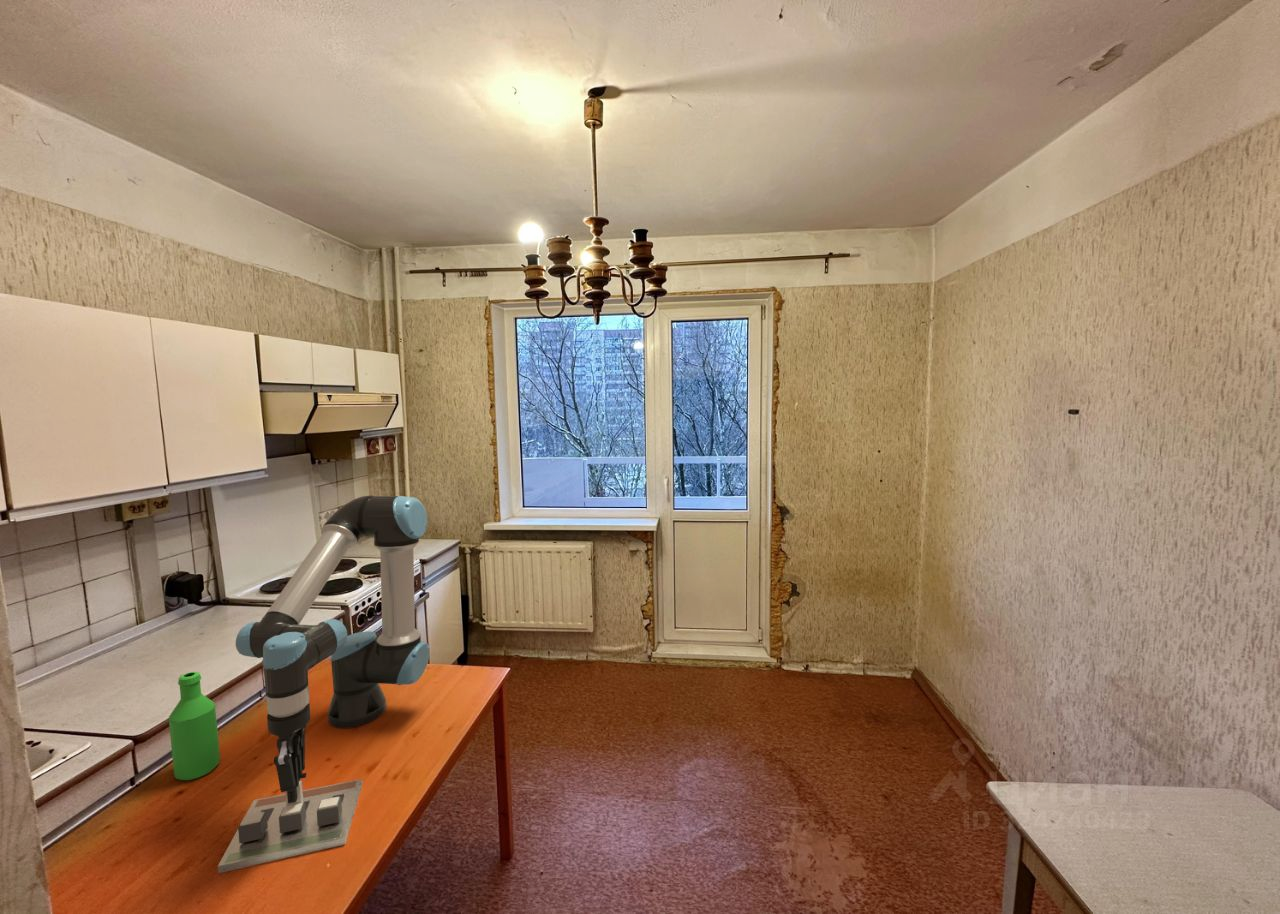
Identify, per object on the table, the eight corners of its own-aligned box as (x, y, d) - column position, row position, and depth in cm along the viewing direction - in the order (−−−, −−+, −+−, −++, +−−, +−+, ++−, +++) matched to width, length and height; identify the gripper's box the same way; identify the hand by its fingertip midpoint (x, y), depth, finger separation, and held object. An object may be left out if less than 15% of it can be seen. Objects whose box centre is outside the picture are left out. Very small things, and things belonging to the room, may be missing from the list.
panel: (254, 806, 119) (253, 799, 119) (362, 784, 126) (361, 778, 126) (218, 873, 102) (217, 865, 102) (345, 844, 109) (344, 837, 109)
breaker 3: (321, 816, 114) (320, 799, 114) (342, 811, 115) (341, 795, 115) (317, 826, 111) (316, 809, 111) (339, 822, 112) (337, 805, 112)
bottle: (227, 764, 133) (219, 670, 130) (186, 787, 125) (177, 687, 122) (208, 754, 137) (200, 663, 134) (166, 776, 129) (157, 679, 126)
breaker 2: (284, 822, 112) (283, 805, 112) (306, 818, 113) (305, 801, 113) (279, 833, 109) (278, 816, 109) (302, 828, 111) (300, 811, 110)
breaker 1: (245, 831, 110) (243, 814, 109) (267, 827, 111) (266, 810, 110) (239, 843, 107) (237, 825, 106) (262, 838, 108) (261, 820, 108)
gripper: (278, 694, 116) (285, 794, 118) (255, 729, 104) (263, 839, 106) (317, 689, 118) (323, 787, 121) (299, 722, 106) (306, 830, 108)
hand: (295, 811), depth 113 cm, fingers closed
